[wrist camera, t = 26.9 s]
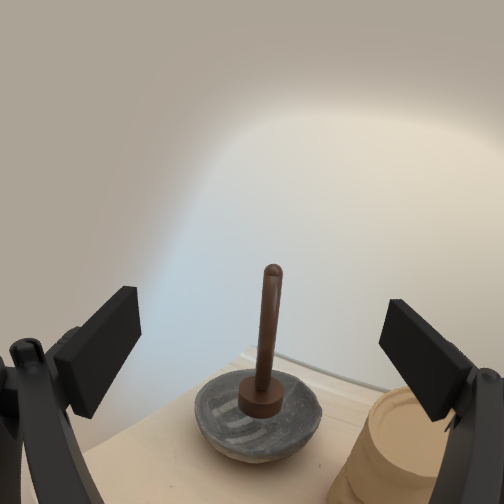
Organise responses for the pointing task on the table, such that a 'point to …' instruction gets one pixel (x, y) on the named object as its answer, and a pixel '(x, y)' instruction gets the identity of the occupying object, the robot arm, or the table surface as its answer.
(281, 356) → the table surface
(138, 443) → the table surface
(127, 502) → the table surface
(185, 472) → the table surface
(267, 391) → the brown peg on base
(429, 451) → the container
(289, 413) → the bowl
